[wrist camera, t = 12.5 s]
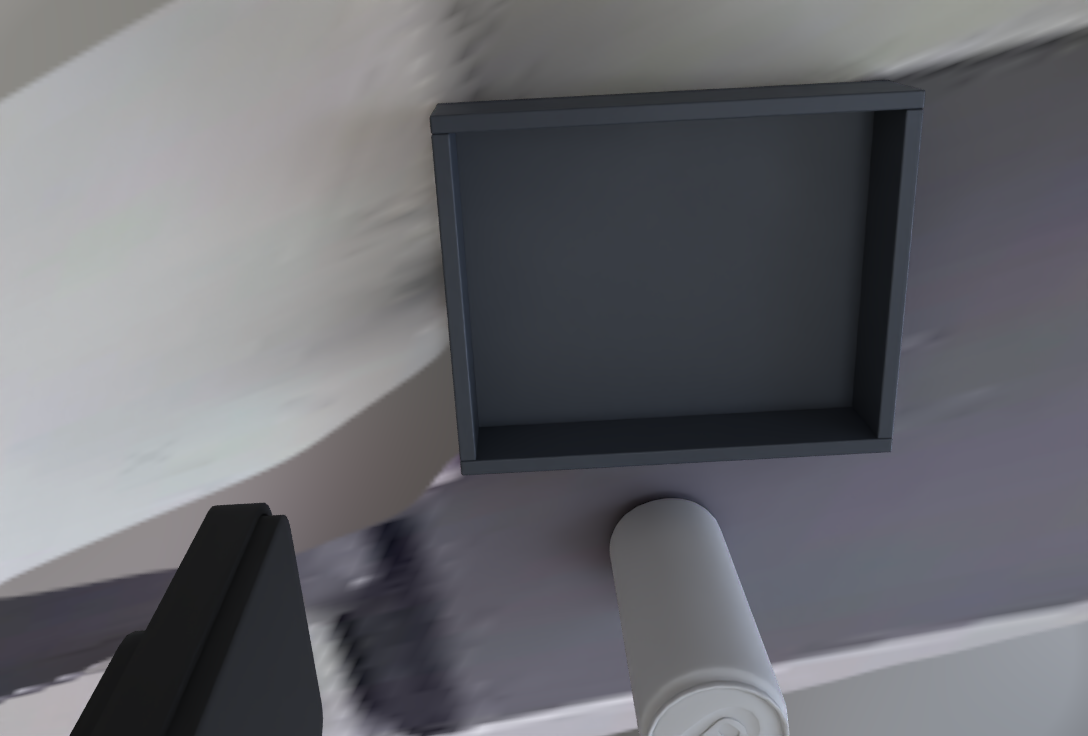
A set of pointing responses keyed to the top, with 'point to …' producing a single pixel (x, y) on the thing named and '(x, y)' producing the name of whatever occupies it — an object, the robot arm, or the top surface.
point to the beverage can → (690, 628)
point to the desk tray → (676, 273)
